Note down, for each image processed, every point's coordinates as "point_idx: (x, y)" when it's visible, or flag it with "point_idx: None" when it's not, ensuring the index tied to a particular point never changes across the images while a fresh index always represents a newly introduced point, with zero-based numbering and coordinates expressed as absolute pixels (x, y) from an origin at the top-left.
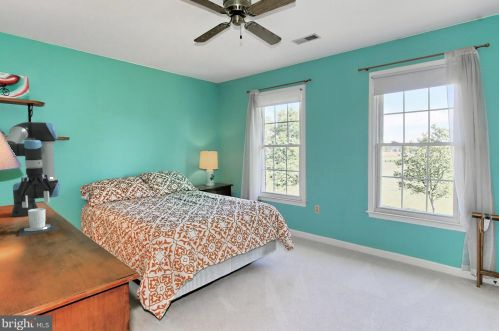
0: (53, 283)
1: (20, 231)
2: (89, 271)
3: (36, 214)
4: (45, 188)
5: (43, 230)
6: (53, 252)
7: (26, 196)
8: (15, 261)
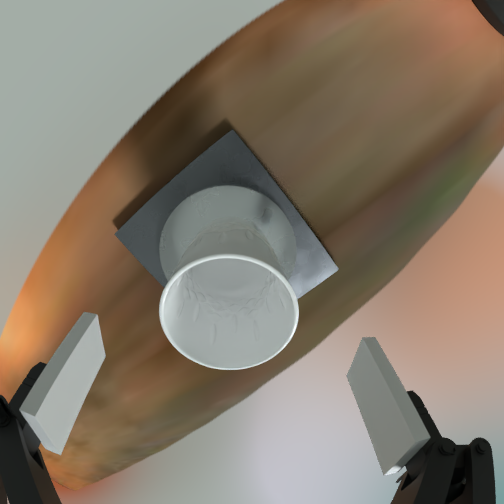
0: None
1: (160, 197)
2: (50, 466)
3: (183, 330)
4: (397, 501)
5: None
6: None
7: (54, 443)
8: (3, 379)
